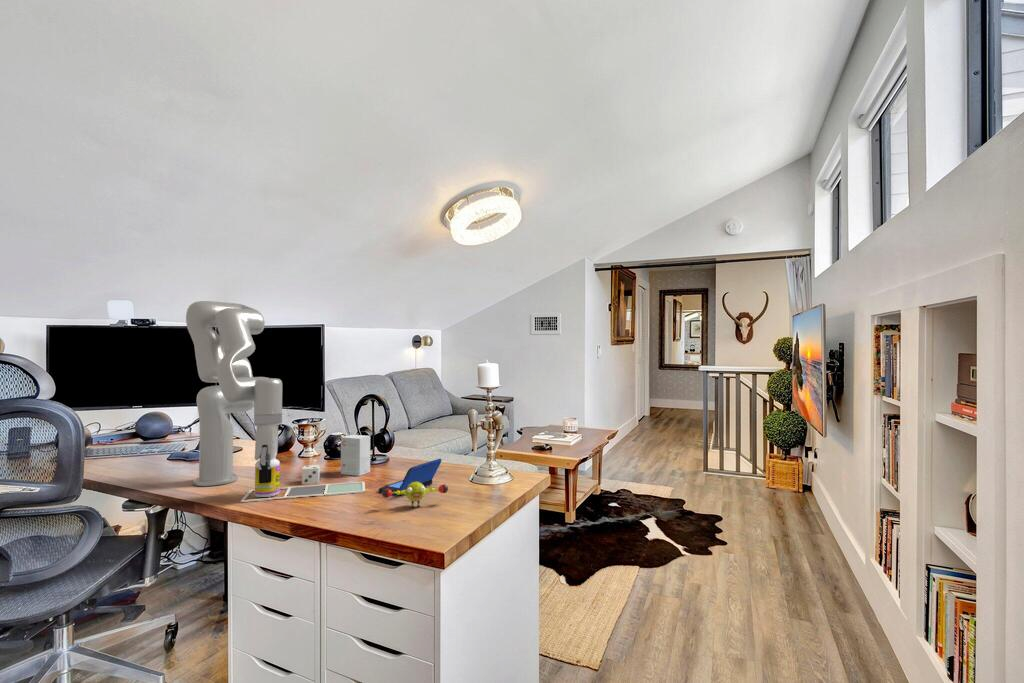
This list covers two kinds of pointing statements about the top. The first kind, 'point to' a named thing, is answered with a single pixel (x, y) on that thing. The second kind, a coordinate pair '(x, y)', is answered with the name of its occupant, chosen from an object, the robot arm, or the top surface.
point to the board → (318, 490)
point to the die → (310, 474)
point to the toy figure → (414, 492)
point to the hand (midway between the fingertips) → (267, 479)
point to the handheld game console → (415, 476)
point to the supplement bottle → (274, 486)
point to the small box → (355, 455)
